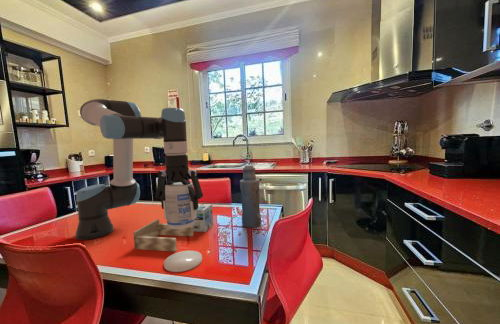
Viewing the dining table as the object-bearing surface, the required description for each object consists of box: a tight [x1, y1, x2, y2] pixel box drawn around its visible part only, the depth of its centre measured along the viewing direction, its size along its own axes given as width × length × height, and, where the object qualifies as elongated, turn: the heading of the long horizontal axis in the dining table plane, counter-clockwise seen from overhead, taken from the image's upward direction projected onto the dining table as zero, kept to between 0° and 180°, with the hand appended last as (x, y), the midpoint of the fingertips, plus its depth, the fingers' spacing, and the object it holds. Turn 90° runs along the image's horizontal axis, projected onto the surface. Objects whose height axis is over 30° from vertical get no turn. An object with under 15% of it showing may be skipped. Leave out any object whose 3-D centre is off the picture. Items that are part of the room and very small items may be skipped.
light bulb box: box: [193, 203, 214, 233], centre depth 110 cm, size 11×7×11 cm, turn 168°
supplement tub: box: [164, 181, 195, 229], centre depth 78 cm, size 10×10×15 cm
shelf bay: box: [132, 218, 194, 253], centre depth 96 cm, size 18×15×7 cm
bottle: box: [239, 164, 262, 228], centre depth 111 cm, size 10×10×30 cm
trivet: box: [163, 250, 203, 273], centre depth 79 cm, size 13×13×1 cm
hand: (180, 218), depth 78 cm, fingers closed on supplement tub, 9 cm apart
